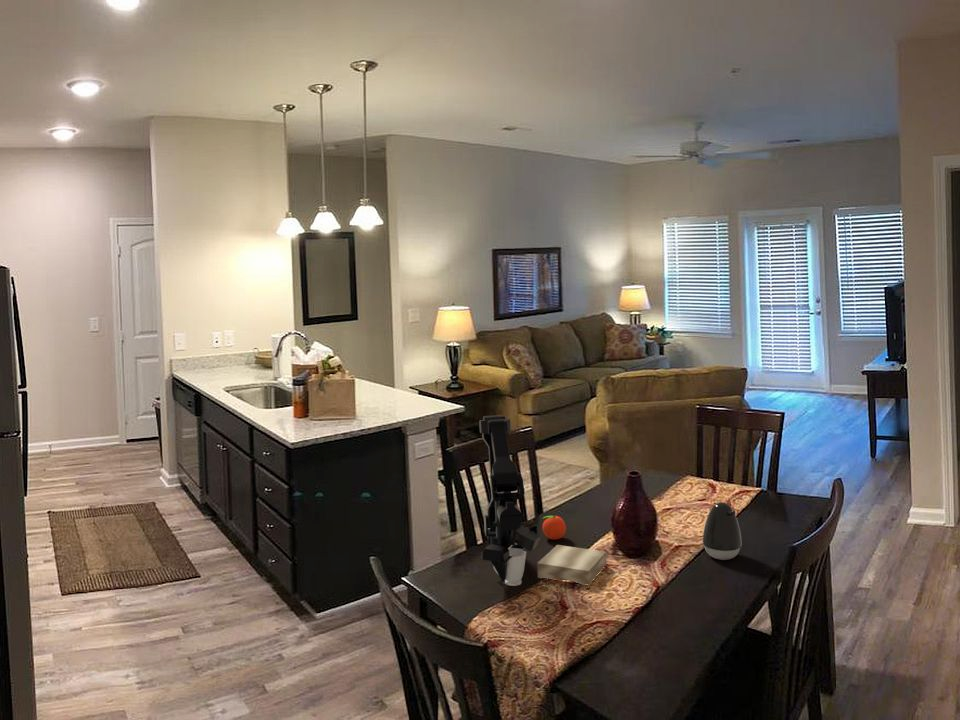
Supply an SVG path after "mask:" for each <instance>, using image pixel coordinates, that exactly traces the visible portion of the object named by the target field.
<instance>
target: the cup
mask: <svg viewBox="0 0 960 720" xmlns="http://www.w3.org/2000/svg"><path fill="white" fill-rule="evenodd" d="M509 556H512V558H511V559H510V560H509V561H508V562H507V573H506V580H503V581H504V584H505V585H507V586H511V587H516V586H520V585H521V584H522V582H523V580H522V578H523V576H524V571H525V564H526V558H527V550H524V549H518V548H509ZM492 566H493V565H492ZM492 568H493V570H494V571H495V573H496V574H497V575H498V573H497V571H496V569H495V567H494V566H493V567H492Z"/></svg>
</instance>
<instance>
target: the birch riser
mask: <svg viewBox="0 0 960 720" xmlns="http://www.w3.org/2000/svg"><path fill="white" fill-rule="evenodd" d="M536 565H537V567H536V568H537V578H538V579H542V578H547V579H546V580H548V578H549V579H559V580H571V581H574V582H576V583H581V584H588V585H589V584H590V583H591V581H592V580H593V579H594V578H595V577H596V575H597V574H598V573H599V572H600V571H601V569H603V567H604V566H605V565H606V566H607V552H606V551H605V550H603V551H602V550H597V549H596V550H594V549H589V548H582V547H575V546H569V545H568V546H567V545H561V544H556V545H555V547H553V548H552V549H550V551H549V552H548V553H547V554H546V555H544V556H543V557H542V558H541V559H540V560H539V561H538V562H537V563H536ZM603 570H604V569H603ZM596 578H597V577H596ZM591 584H592V583H591ZM591 584H590V585H591Z"/></svg>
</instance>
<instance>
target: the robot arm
mask: <svg viewBox="0 0 960 720" xmlns="http://www.w3.org/2000/svg"><path fill="white" fill-rule="evenodd" d="M478 424H479V433H480V434H481V436H482V440H483V441H484V443H485V444H486V446H487V448H488V461H489V483H490V484H489V485H490V495H491V500H490V501H489V504H488V505H487V508H486V515H484V519H483V520H484V523H483V529H484V535H485V537H486V538H487V546H486V547H484V548H483V549H482V550H481V552H480V553H481V560H483V561H489V562H490V563H491V564H492V566H494V567H495V569H496V571H497V573H498V574H497V573H496V574H497V576H499V578H500V580H501V581H504V580H506V573H507V562H508V561H509V560H510V559H511V558H512V556H509V548H518V549H522V550H524V549H525V551H527V552H532V551H533V550H534V549H536V547H538V544H539V541H540V540H541V539H542V533H541V528H540V525H537V524H533V525H532V526H530V527H529V526H527V527H525V526H523V522H524V518H523V517H524V516H523V513H522V510H521V508H520V507H519V505H518V500H523V499H524V496H523V495H525V486H524V485H525V484H524V478H523V476H522V473H520V472H518V471H519V470H518V467H517V463H516V462H514V461H513V460H512V459H511V453H510V447H509V440H508V438H509V433H512V431H511V430H512V429H511V419H510V418H506V416H505V415H504V414H503V415H502V414H500V415H484V416H483V417H482V419H481V420H479V423H478ZM517 491H518V492H517ZM494 567H493V568H494ZM496 571H495V572H496Z"/></svg>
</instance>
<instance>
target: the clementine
mask: <svg viewBox="0 0 960 720" xmlns="http://www.w3.org/2000/svg"><path fill="white" fill-rule="evenodd" d="M545 518H546V519H545ZM543 519H544V521H543V523H542V532H543V534H544V535H545V537H547V538H548V539H550V540H559V539H561V538H563V537H564V535H565V534H566V531H567V526H566V523H565V521H564V520H563V518H562V517H560V516H558V515H547V516H544V517H542V519H541V520H540V521H542V520H543Z"/></svg>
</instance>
